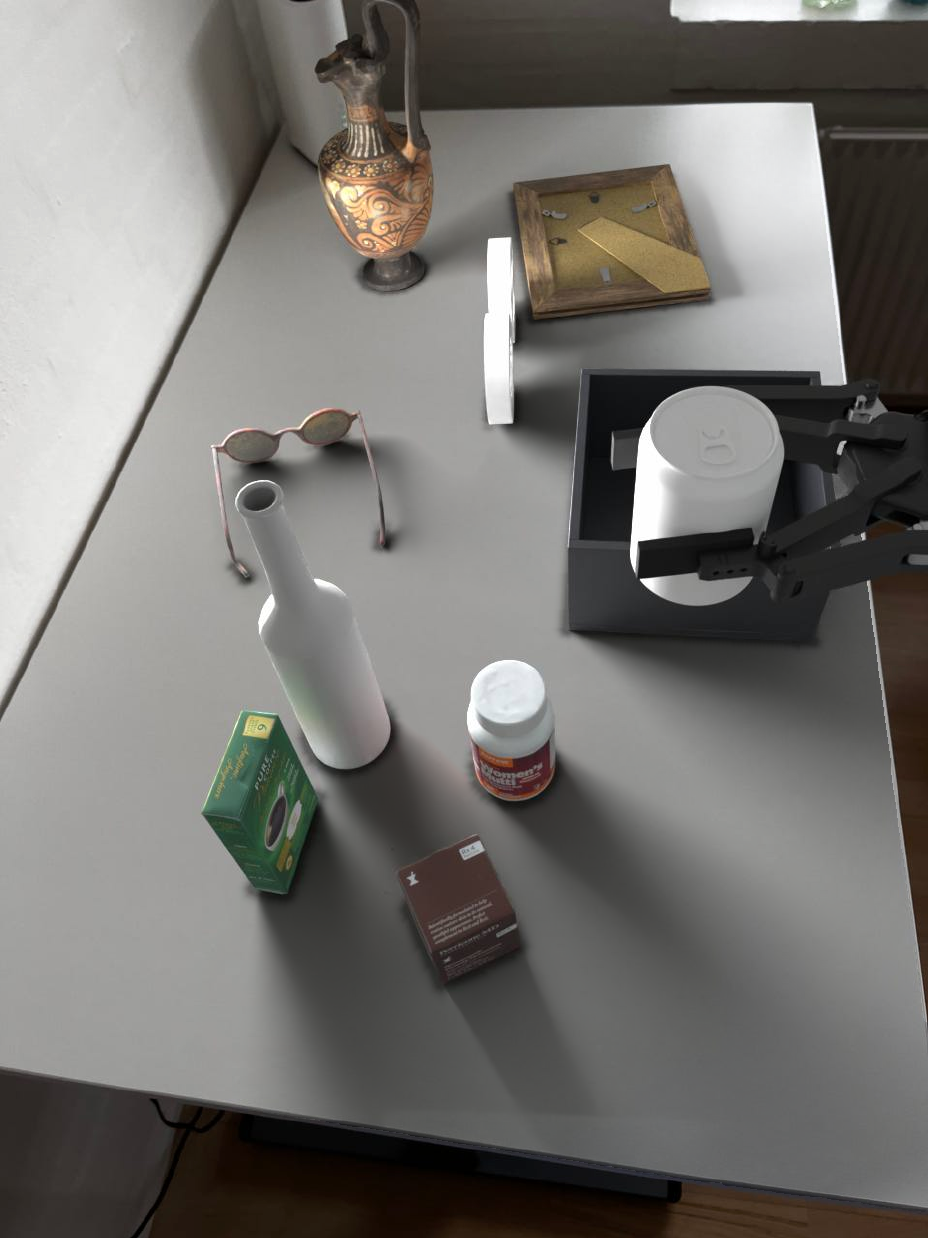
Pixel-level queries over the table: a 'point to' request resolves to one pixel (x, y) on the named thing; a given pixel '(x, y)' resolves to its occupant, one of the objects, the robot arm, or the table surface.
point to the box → (460, 908)
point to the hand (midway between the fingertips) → (624, 503)
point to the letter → (500, 332)
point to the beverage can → (705, 479)
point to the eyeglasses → (263, 445)
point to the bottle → (314, 642)
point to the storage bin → (606, 509)
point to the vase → (378, 154)
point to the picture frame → (607, 242)
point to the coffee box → (261, 801)
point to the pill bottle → (512, 730)
